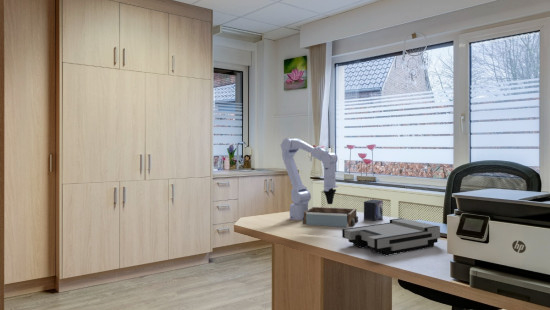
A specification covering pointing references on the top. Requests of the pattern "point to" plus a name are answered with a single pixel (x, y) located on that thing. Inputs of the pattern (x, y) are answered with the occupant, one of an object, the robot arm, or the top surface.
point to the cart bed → (350, 213)
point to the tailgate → (326, 219)
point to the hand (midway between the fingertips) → (330, 203)
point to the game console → (394, 236)
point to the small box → (373, 210)
